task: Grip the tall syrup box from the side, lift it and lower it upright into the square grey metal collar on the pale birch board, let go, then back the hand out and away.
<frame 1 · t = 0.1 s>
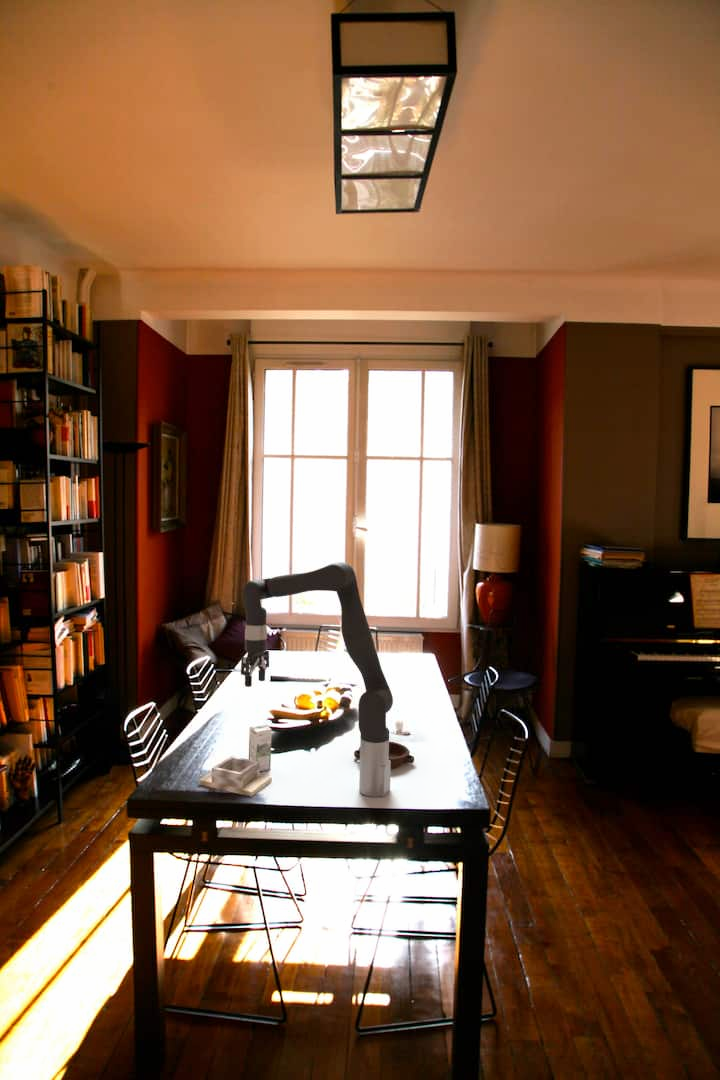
hand: (255, 683, 209), 29 cm above the table, tool pointing down, fingers open, 8 cm apart
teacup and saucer: (397, 735, 246), on the table
collar board: (235, 782, 196), on the table
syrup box: (259, 769, 208), on the table
dish: (383, 763, 216), on the table
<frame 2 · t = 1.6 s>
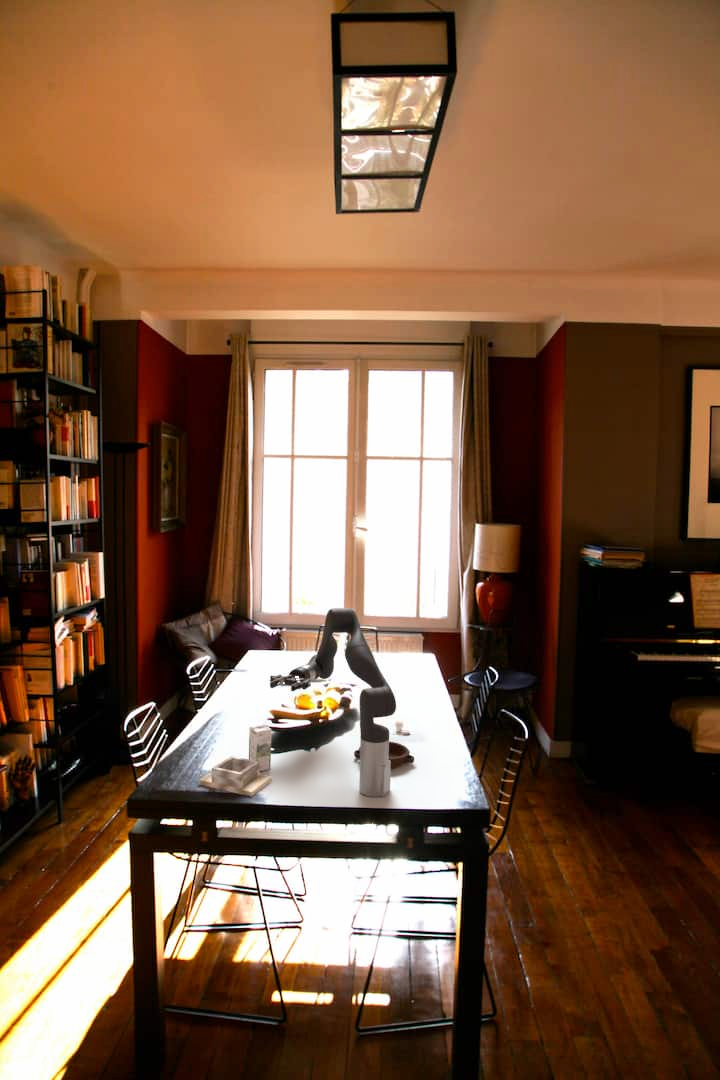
hand: (281, 686, 216), 26 cm above the table, tool horizontal, fingers open, 8 cm apart
nothing on the table moved.
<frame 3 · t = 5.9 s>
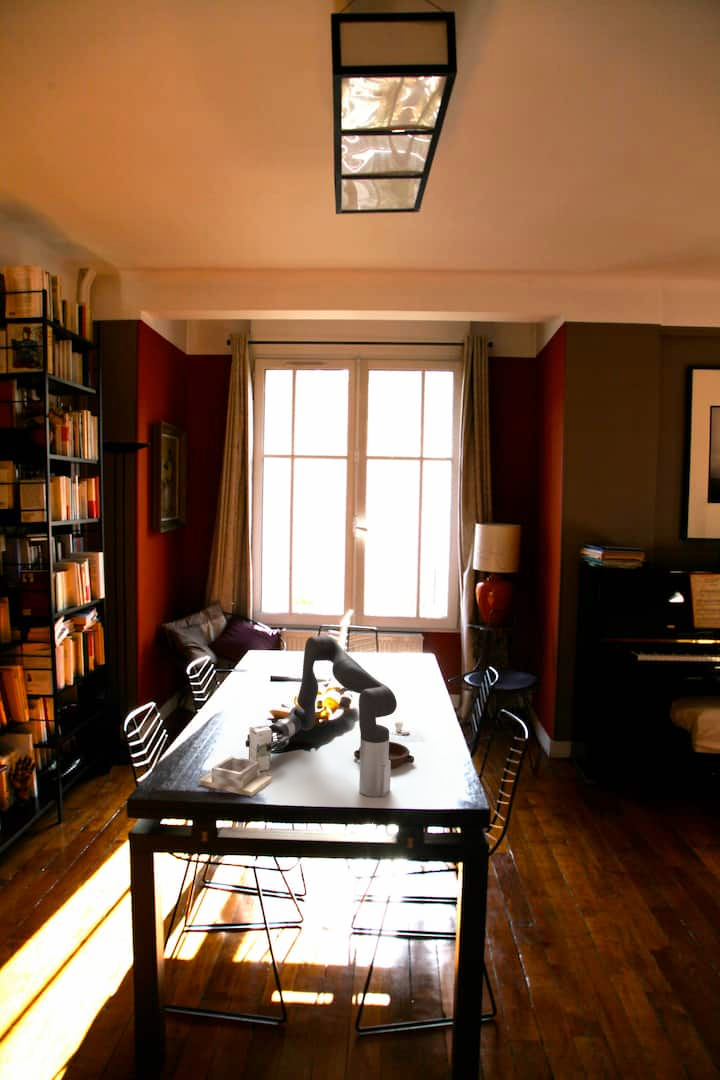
hand: (257, 746, 206), 8 cm above the table, tool horizontal, fingers closed on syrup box, 8 cm apart
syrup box: (259, 769, 208), on the table, touching gripper
everything else where it was.
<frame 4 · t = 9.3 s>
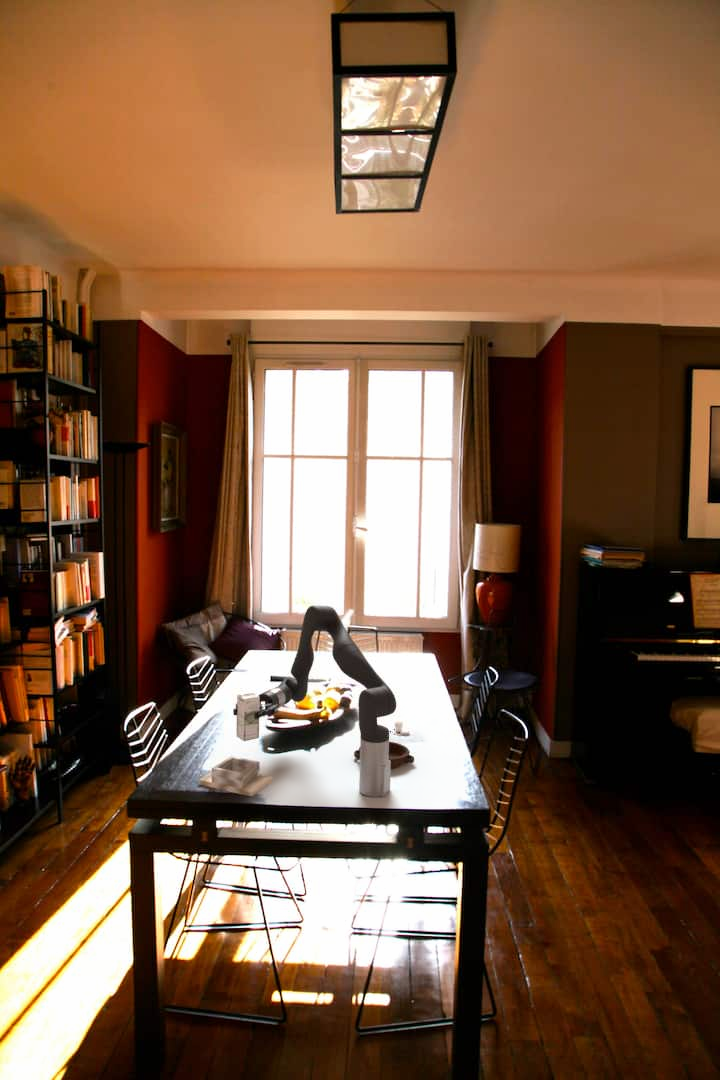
hand: (244, 714, 199), 22 cm above the table, tool horizontal, fingers closed on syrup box, 8 cm apart
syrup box: (247, 738, 201), point 13 cm above the table, touching gripper
everything else where it was.
when the fingers open (14 cm above the table, at t = 12.5 s): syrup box drops 4 cm, resting on collar board.
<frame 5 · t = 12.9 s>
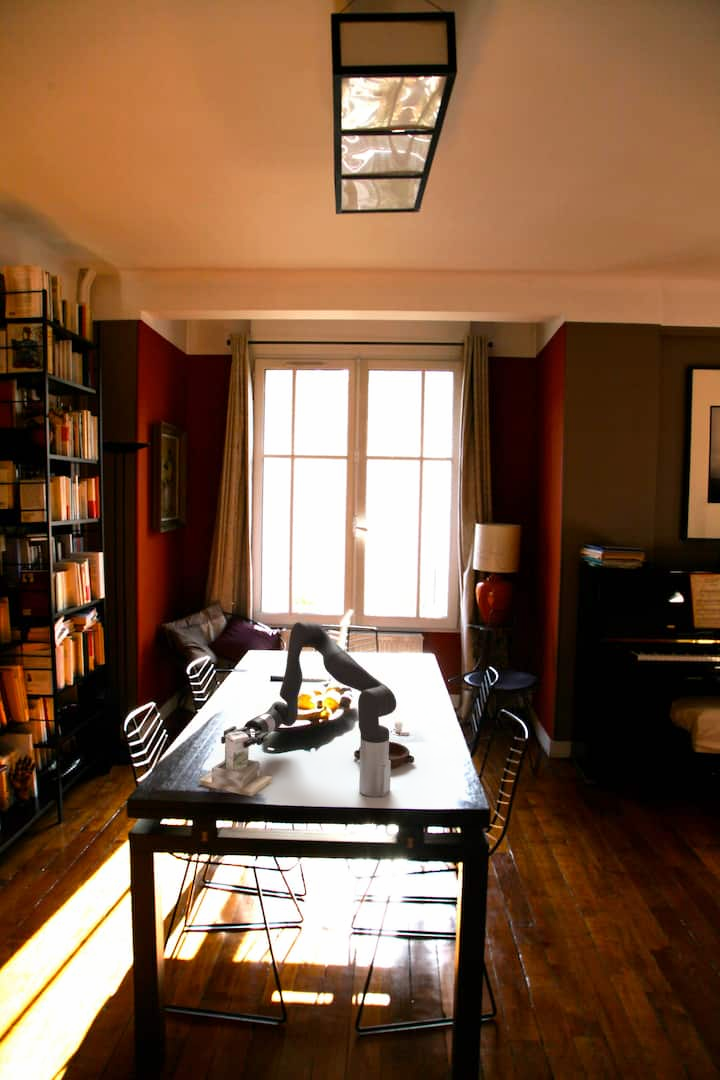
hand: (233, 742, 194), 14 cm above the table, tool horizontal, fingers open, 8 cm apart
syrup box: (236, 778, 196), point 1 cm above the table, touching collar board, gripper
everything else where it was.
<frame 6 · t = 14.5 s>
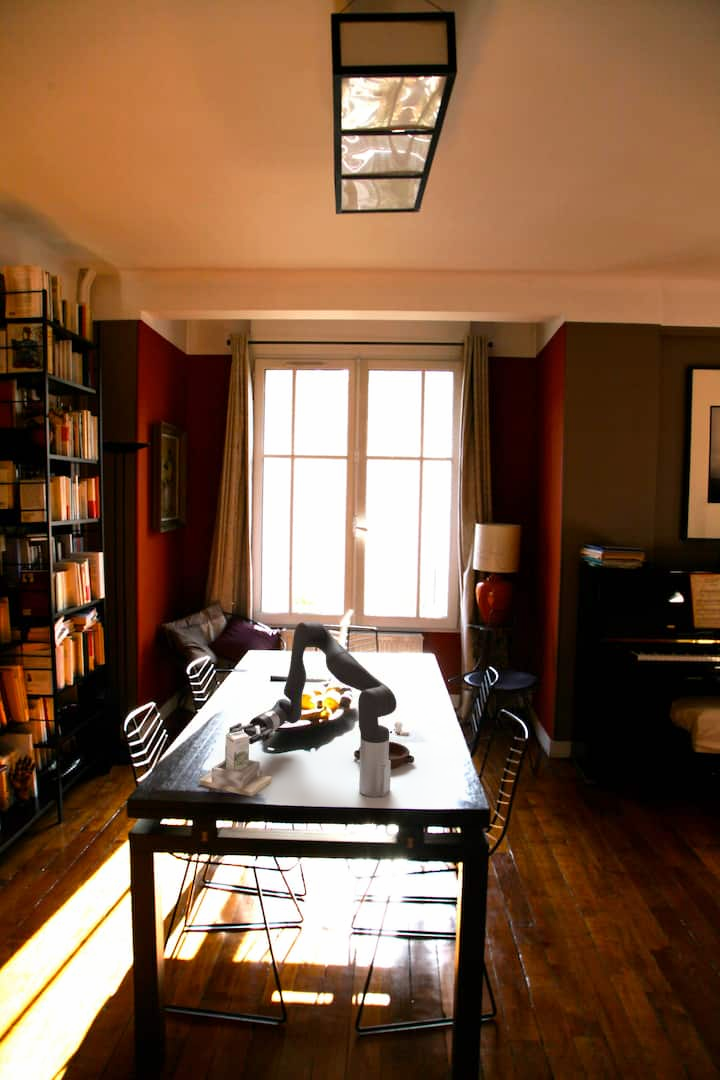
hand: (239, 739, 197), 14 cm above the table, tool horizontal, fingers open, 8 cm apart
nothing on the table moved.
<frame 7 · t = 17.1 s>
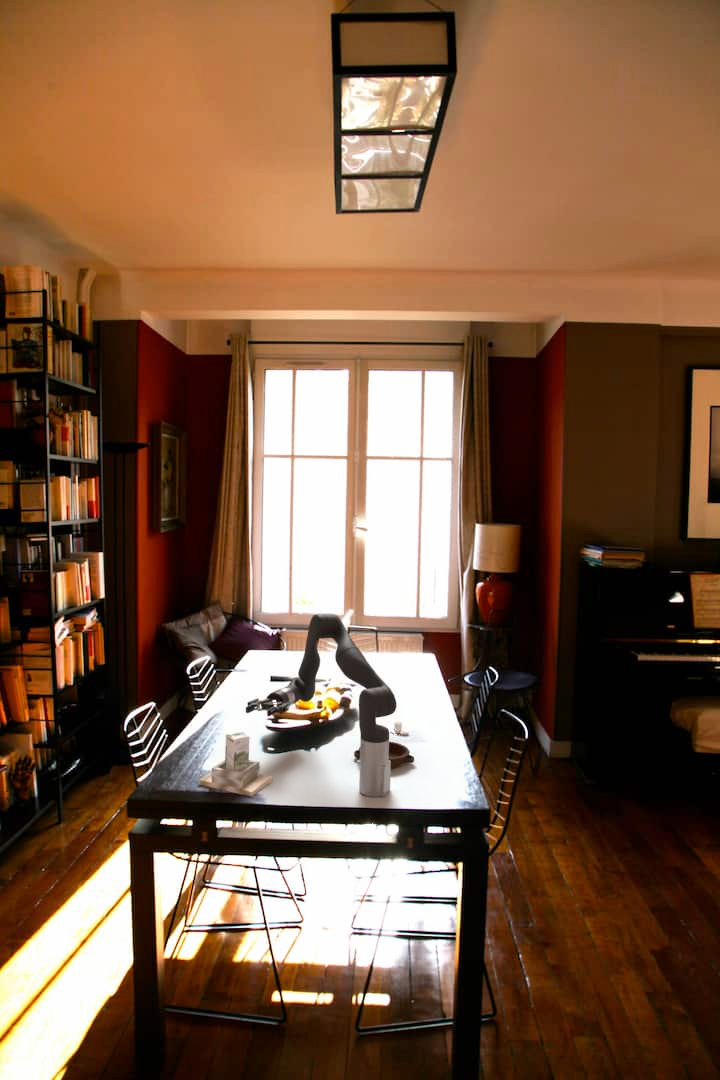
hand: (257, 711, 207), 20 cm above the table, tool horizontal, fingers open, 8 cm apart
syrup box: (236, 778, 196), point 1 cm above the table, touching collar board
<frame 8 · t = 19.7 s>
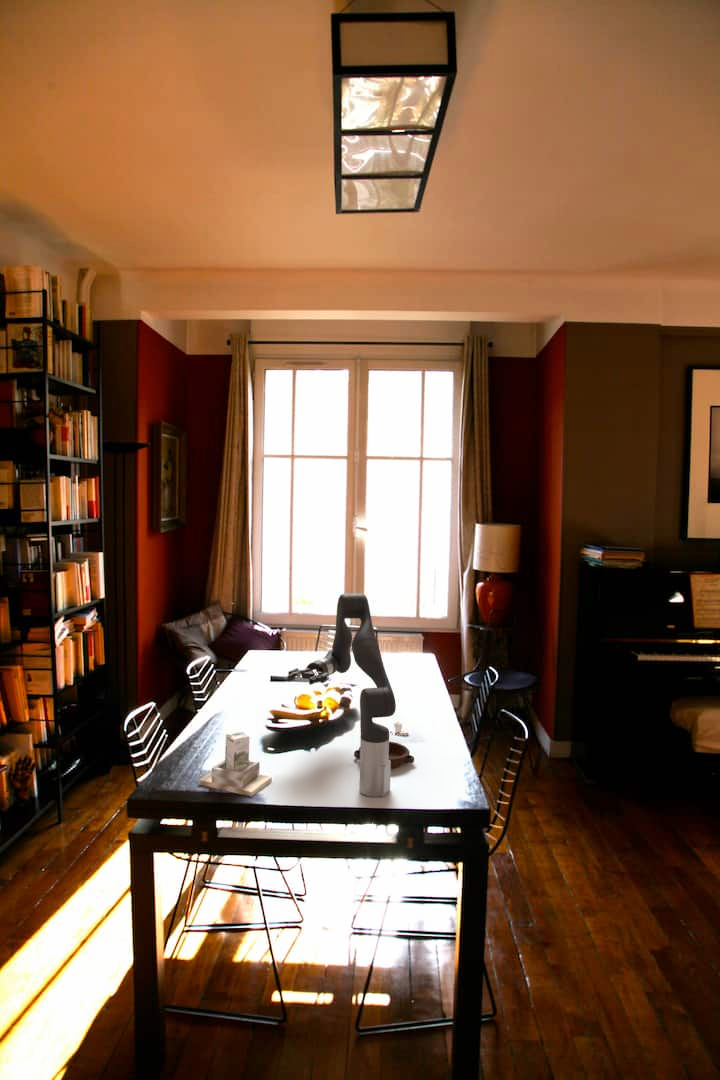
hand: (299, 680, 211), 30 cm above the table, tool horizontal, fingers open, 8 cm apart
at the end: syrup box 0.3 cm off-centre on the collar board, point 1.3 cm above the collar board's base; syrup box tilted 0°; the gripper is holding nothing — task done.
